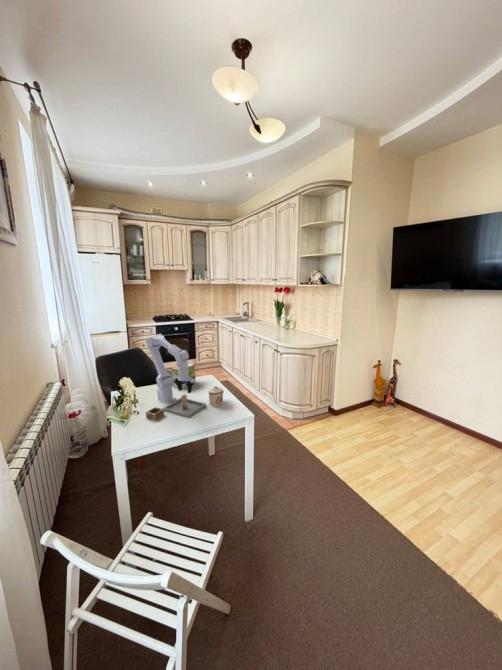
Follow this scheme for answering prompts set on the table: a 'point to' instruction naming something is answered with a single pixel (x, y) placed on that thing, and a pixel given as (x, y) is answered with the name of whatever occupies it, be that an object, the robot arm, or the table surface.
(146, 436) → the table surface
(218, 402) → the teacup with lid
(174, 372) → the tea box
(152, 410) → the wooden roll holder
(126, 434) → the table surface
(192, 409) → the tray
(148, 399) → the table surface
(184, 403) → the dowel
